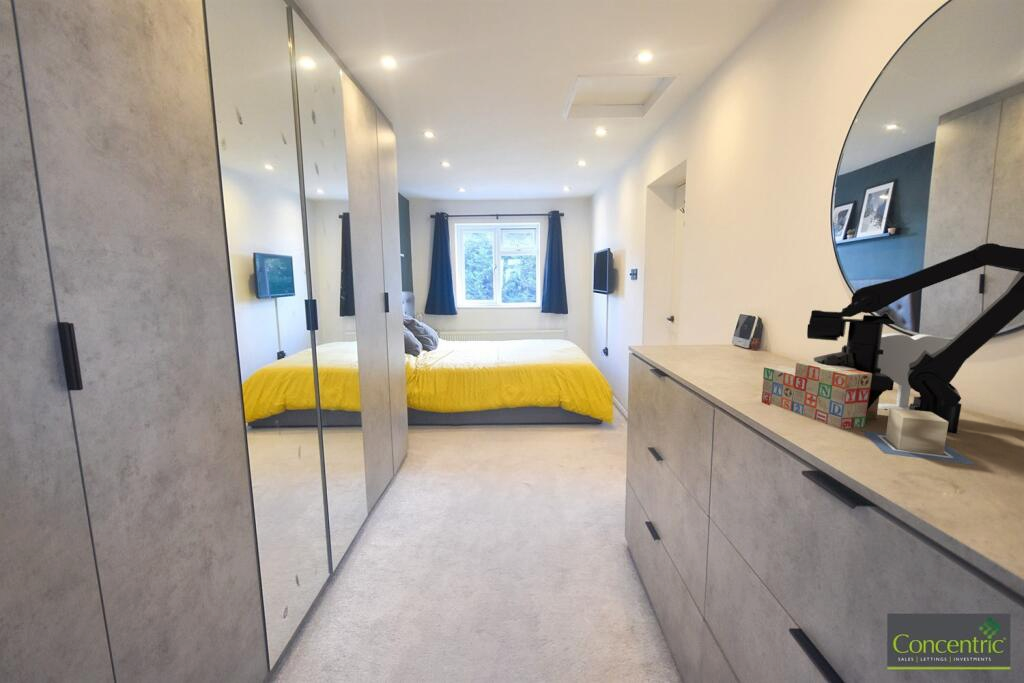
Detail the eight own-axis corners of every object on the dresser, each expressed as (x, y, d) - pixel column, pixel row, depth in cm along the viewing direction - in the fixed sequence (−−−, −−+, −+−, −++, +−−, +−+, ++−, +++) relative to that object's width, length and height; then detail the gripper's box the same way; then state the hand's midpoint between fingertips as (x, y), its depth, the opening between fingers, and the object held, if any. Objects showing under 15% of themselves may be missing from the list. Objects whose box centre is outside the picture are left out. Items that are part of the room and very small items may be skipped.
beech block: (926, 442, 78) (931, 411, 77) (943, 455, 73) (948, 422, 72) (885, 437, 81) (889, 407, 80) (898, 449, 75) (903, 417, 74)
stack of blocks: (760, 402, 106) (764, 354, 105) (781, 401, 108) (785, 353, 106) (840, 432, 86) (847, 373, 84) (865, 430, 87) (873, 372, 85)
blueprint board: (938, 442, 80) (939, 439, 80) (976, 468, 69) (977, 464, 69) (860, 433, 85) (860, 430, 84) (883, 456, 74) (884, 452, 74)
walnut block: (866, 413, 97) (869, 388, 96) (875, 421, 91) (879, 395, 90) (834, 410, 99) (837, 386, 98) (842, 418, 94) (845, 392, 93)
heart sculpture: (938, 409, 100) (950, 335, 97) (950, 416, 95) (962, 337, 93) (857, 402, 106) (866, 331, 103) (865, 407, 101) (874, 334, 99)
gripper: (810, 335, 104) (803, 396, 107) (831, 346, 88) (822, 418, 90) (865, 338, 100) (857, 401, 102) (899, 350, 83) (888, 425, 85)
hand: (855, 410), depth 95 cm, fingers closed on walnut block, 6 cm apart
